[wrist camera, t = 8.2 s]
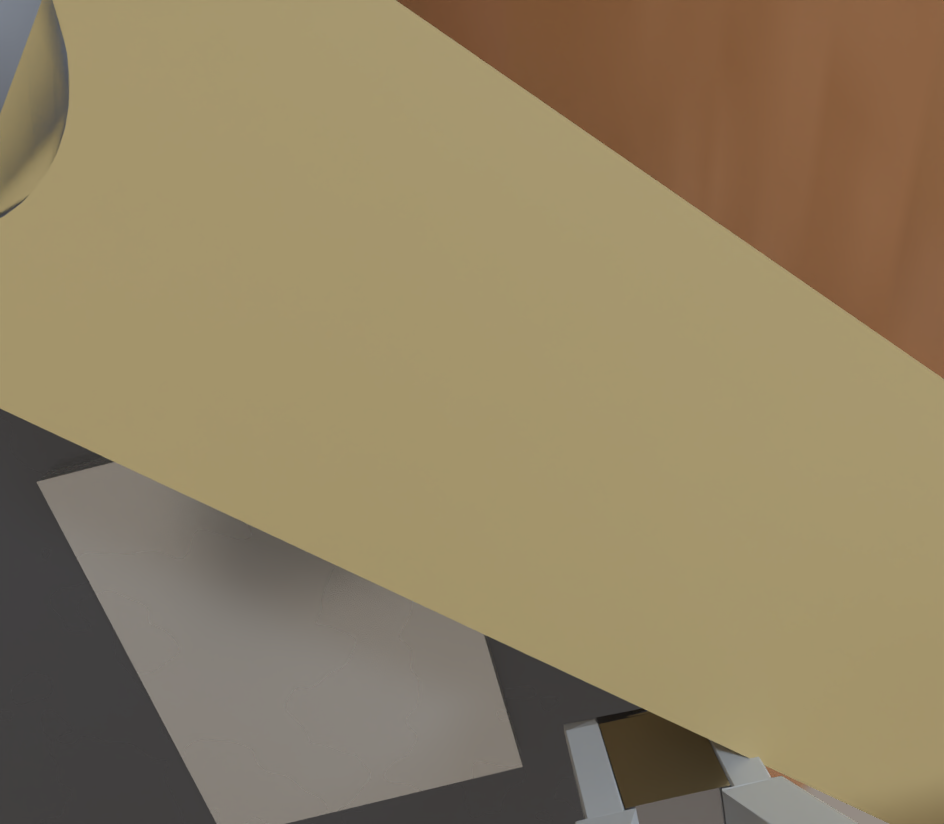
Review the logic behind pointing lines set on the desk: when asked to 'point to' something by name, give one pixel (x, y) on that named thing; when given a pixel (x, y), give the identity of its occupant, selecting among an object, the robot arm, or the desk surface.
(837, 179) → the desk surface
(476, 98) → the beige block
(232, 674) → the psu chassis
